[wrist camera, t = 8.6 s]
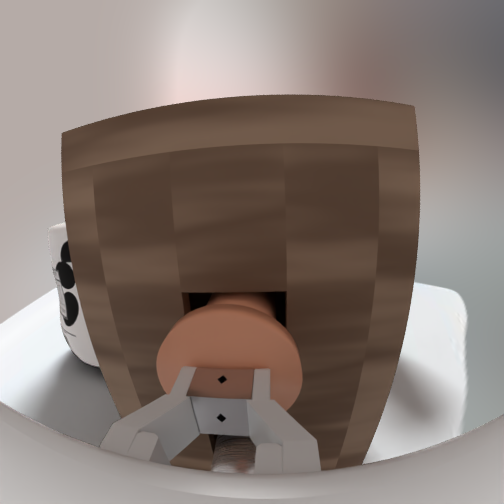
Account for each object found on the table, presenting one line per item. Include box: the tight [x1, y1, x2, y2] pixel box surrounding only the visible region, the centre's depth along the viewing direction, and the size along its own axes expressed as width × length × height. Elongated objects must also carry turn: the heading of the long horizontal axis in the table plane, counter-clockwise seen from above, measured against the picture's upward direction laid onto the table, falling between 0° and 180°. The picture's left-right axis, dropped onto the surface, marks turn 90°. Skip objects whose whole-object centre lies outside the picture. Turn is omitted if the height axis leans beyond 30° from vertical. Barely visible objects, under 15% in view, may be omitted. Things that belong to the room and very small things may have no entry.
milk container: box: [48, 223, 100, 368], centre depth 33 cm, size 17×17×18 cm
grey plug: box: [210, 434, 256, 474], centre depth 11 cm, size 8×5×5 cm, turn 177°
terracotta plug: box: [156, 291, 303, 411], centre depth 13 cm, size 8×5×5 cm, turn 177°
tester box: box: [61, 95, 420, 471], centre depth 17 cm, size 10×16×24 cm, turn 87°
